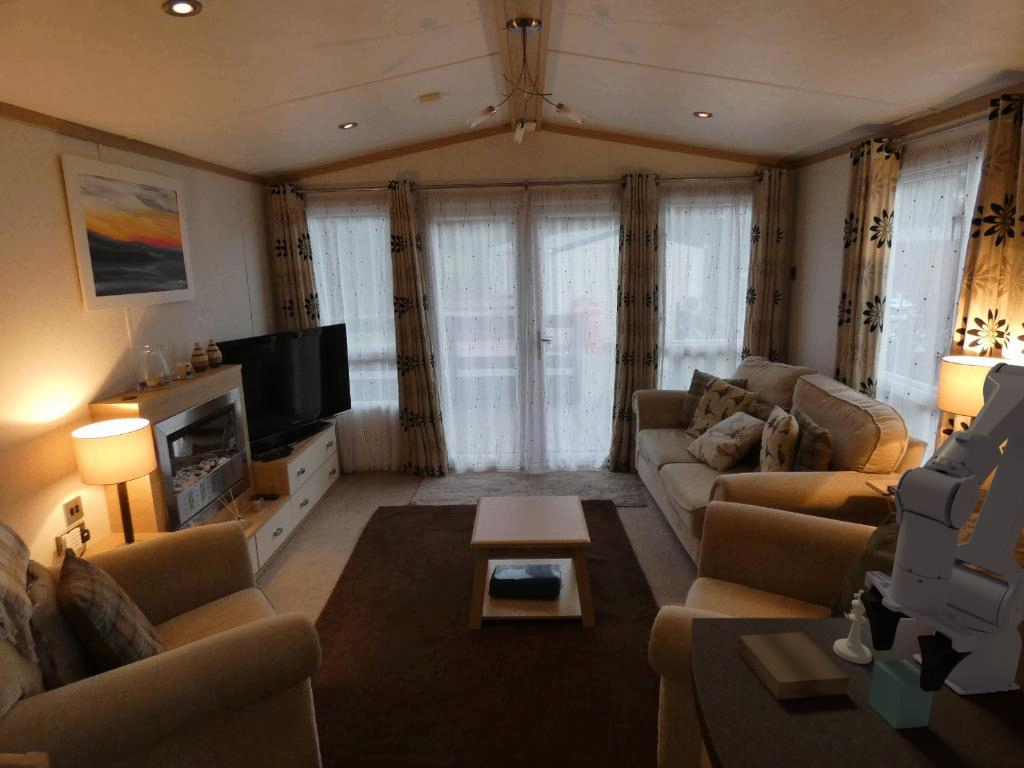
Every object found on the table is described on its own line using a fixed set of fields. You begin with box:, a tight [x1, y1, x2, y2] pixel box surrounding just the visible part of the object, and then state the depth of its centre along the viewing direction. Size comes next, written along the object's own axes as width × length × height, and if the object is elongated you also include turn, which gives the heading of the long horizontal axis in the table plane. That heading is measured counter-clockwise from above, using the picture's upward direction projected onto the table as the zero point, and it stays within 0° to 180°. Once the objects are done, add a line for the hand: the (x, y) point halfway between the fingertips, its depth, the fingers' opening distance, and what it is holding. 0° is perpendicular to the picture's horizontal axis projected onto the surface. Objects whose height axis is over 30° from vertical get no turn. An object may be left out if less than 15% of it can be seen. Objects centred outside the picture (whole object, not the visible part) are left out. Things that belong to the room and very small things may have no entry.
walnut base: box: [737, 631, 850, 700], centre depth 82 cm, size 10×10×2 cm
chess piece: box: [833, 589, 872, 665], centre depth 86 cm, size 5×5×10 cm
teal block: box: [867, 659, 935, 730], centre depth 74 cm, size 4×4×6 cm
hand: (904, 668), depth 74 cm, fingers open, 7 cm apart
